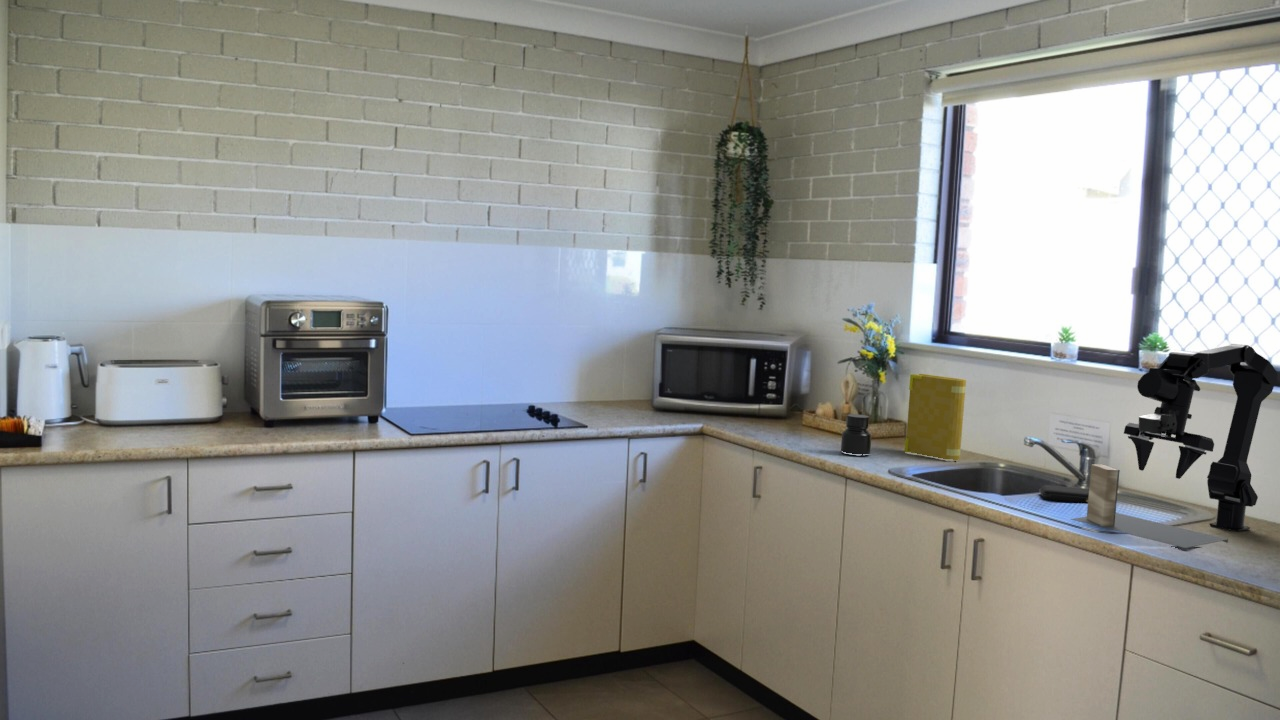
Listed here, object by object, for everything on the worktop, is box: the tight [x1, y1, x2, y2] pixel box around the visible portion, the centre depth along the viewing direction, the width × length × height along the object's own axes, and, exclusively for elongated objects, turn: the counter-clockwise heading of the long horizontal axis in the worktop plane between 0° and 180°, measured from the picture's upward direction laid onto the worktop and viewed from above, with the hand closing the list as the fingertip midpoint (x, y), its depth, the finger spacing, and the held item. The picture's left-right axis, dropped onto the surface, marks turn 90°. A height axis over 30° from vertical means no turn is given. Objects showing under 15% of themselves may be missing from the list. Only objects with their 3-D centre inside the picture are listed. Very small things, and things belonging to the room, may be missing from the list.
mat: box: [1070, 512, 1229, 552], centre depth 238 cm, size 18×27×1 cm, turn 34°
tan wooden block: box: [1086, 463, 1121, 526], centre depth 242 cm, size 3×6×13 cm, turn 7°
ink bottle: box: [840, 413, 872, 455], centre depth 322 cm, size 10×9×12 cm
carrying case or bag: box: [1038, 484, 1089, 505], centre depth 270 cm, size 11×3×15 cm
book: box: [903, 373, 967, 460], centre depth 324 cm, size 17×7×25 cm, turn 42°
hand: (1159, 474), depth 234 cm, fingers open, 9 cm apart
